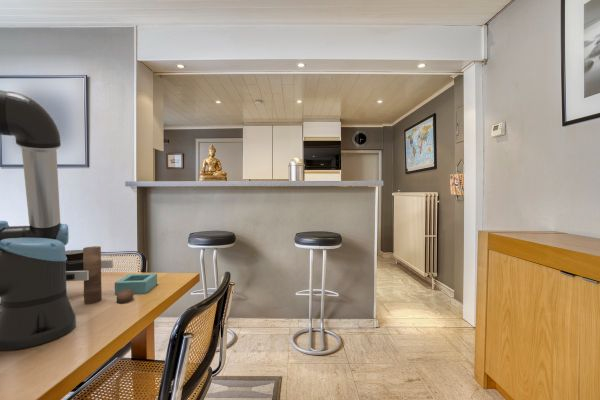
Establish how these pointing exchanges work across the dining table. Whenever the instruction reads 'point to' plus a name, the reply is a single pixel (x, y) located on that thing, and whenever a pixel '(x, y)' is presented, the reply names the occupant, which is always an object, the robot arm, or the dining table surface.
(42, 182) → the robot arm
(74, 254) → the coffee mug
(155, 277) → the hole block
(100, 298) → the long pin
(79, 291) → the dining table surface
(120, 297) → the brown rounded block
